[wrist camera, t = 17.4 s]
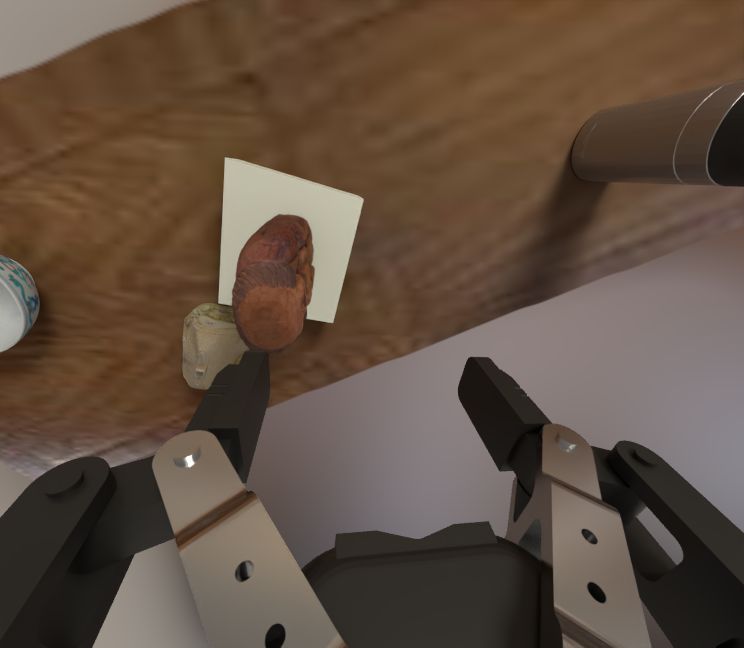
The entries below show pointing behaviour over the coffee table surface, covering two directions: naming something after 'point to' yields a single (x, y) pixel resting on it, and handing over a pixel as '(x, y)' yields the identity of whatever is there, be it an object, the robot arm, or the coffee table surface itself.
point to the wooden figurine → (274, 284)
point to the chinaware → (16, 302)
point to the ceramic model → (209, 344)
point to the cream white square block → (295, 197)
